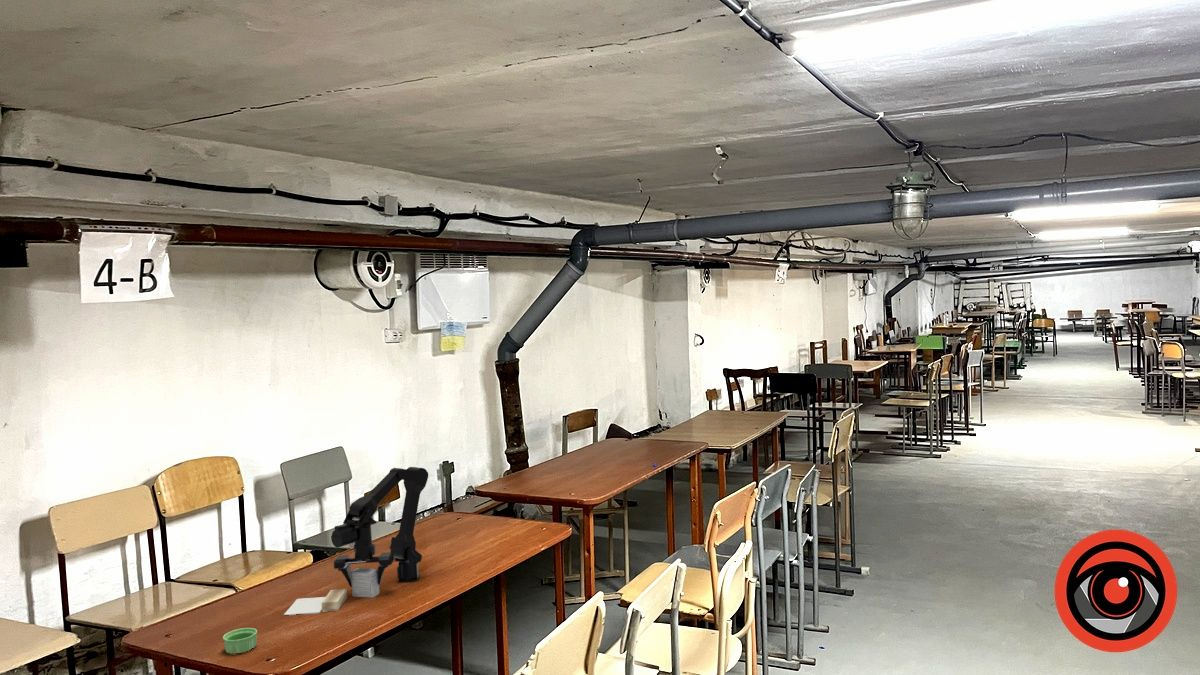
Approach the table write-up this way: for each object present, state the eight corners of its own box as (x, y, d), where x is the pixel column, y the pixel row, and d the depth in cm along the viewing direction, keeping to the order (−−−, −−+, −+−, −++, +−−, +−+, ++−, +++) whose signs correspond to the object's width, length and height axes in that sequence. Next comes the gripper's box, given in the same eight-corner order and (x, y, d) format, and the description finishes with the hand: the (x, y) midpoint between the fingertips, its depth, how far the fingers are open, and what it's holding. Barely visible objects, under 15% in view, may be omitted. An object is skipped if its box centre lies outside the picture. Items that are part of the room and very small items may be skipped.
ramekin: (216, 653, 226) (215, 638, 226) (241, 641, 235) (240, 626, 235) (241, 657, 223) (240, 641, 223) (265, 644, 232) (264, 629, 232)
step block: (347, 597, 268) (346, 588, 267) (338, 610, 256) (337, 601, 255) (331, 598, 267) (331, 589, 267) (322, 612, 255) (321, 602, 255)
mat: (331, 597, 268) (330, 596, 268) (319, 613, 254) (319, 612, 254) (297, 600, 267) (297, 598, 267) (283, 615, 253) (283, 614, 253)
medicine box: (380, 593, 270) (378, 568, 269) (372, 598, 266) (370, 572, 265) (360, 592, 272) (358, 567, 272) (352, 596, 268) (350, 571, 268)
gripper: (395, 531, 277) (397, 575, 278) (340, 534, 276) (342, 579, 276) (389, 540, 266) (392, 586, 266) (332, 544, 265) (334, 590, 265)
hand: (365, 585), depth 269 cm, fingers open, 9 cm apart
